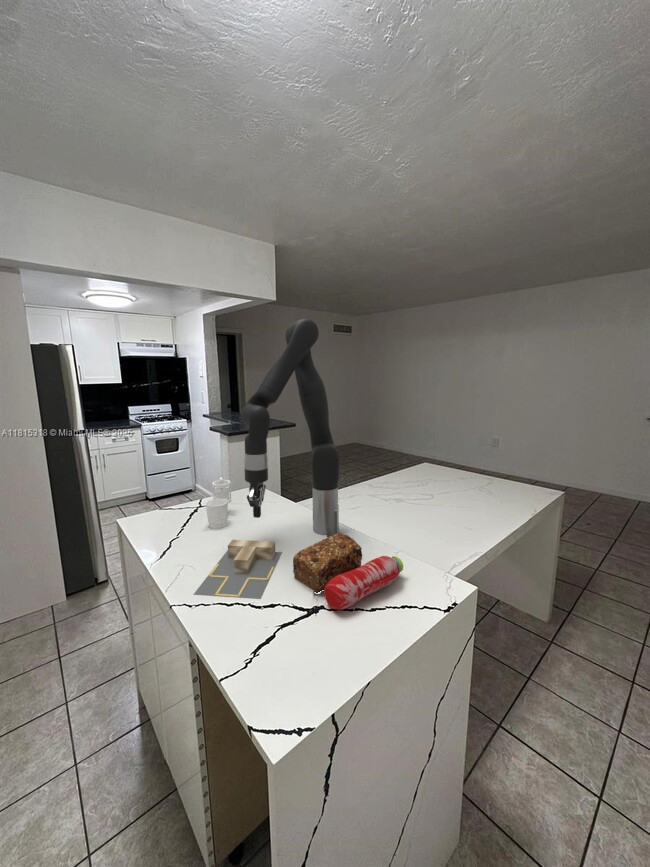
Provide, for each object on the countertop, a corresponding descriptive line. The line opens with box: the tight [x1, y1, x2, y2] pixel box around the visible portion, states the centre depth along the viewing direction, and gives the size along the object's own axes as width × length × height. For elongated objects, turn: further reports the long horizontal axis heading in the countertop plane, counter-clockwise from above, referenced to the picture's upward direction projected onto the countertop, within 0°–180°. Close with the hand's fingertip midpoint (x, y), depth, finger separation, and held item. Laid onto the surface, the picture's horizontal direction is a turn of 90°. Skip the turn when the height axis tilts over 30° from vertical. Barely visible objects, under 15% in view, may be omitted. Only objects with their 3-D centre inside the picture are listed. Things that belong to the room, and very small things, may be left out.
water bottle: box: [323, 555, 404, 611], centre depth 95 cm, size 12×8×25 cm
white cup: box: [205, 499, 229, 530], centre depth 134 cm, size 8×8×10 cm
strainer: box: [211, 477, 232, 504], centre depth 146 cm, size 7×7×15 cm
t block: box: [227, 539, 276, 573], centre depth 107 cm, size 14×12×4 cm
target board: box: [192, 549, 283, 600], centre depth 103 cm, size 18×24×1 cm
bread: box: [292, 532, 363, 593], centre depth 101 cm, size 19×11×10 cm, turn 133°
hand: (257, 516), depth 118 cm, fingers closed
